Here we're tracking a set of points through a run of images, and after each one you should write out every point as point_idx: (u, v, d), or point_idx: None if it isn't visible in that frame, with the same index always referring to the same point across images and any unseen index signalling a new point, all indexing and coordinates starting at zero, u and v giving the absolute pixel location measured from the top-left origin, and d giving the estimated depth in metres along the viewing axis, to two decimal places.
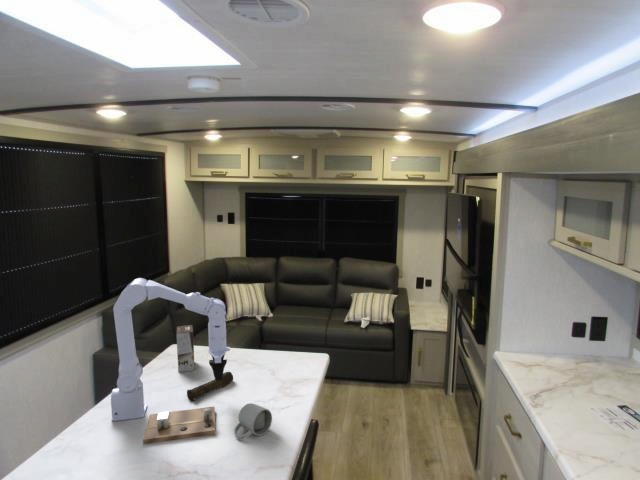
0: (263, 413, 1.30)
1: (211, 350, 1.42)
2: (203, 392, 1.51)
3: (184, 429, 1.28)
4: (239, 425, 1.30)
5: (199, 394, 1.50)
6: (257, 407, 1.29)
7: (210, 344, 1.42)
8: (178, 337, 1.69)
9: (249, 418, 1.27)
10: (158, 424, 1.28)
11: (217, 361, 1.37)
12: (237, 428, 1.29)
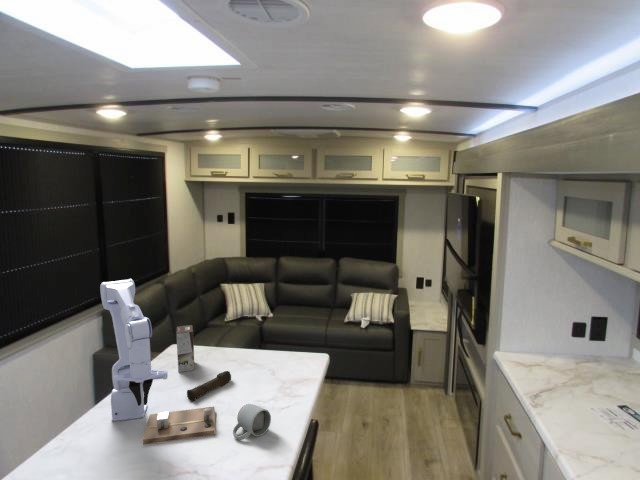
0: (262, 414, 1.30)
1: None
2: (203, 392, 1.51)
3: (184, 429, 1.28)
4: (238, 426, 1.29)
5: (199, 394, 1.50)
6: (256, 407, 1.29)
7: None
8: (178, 337, 1.69)
9: (248, 419, 1.26)
10: (158, 424, 1.28)
11: None
12: (236, 429, 1.29)
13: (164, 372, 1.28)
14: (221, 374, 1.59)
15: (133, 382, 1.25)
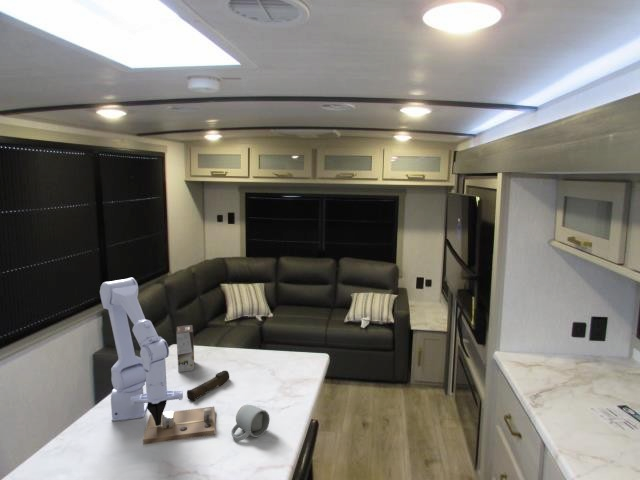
0: (260, 414, 1.29)
1: None
2: (203, 392, 1.51)
3: (184, 429, 1.28)
4: (236, 426, 1.29)
5: (199, 394, 1.50)
6: (254, 408, 1.29)
7: None
8: (178, 337, 1.69)
9: (247, 419, 1.26)
10: (163, 423, 1.28)
11: None
12: (234, 429, 1.28)
13: (179, 393, 1.30)
14: (220, 374, 1.60)
15: (149, 403, 1.27)
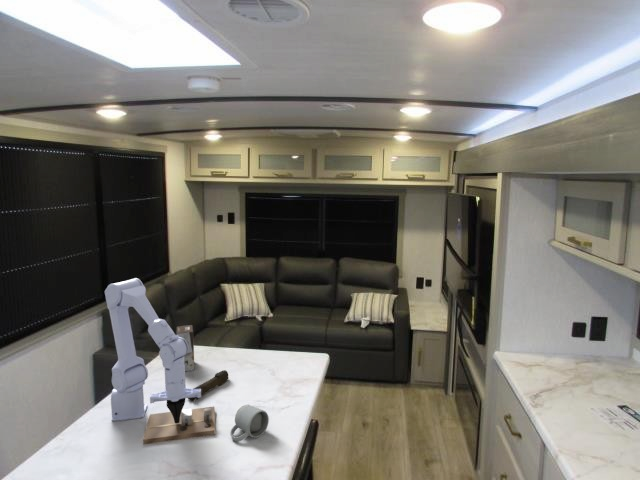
0: (260, 415, 1.29)
1: None
2: (203, 392, 1.51)
3: (184, 429, 1.28)
4: (235, 427, 1.29)
5: None
6: (253, 409, 1.29)
7: None
8: None
9: (246, 420, 1.26)
10: (182, 421, 1.29)
11: None
12: (233, 430, 1.28)
13: (198, 390, 1.31)
14: (219, 373, 1.60)
15: (168, 401, 1.29)
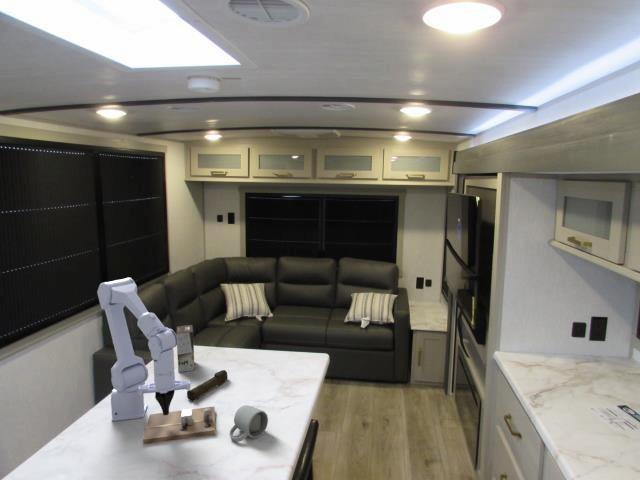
0: (259, 415, 1.29)
1: None
2: (203, 391, 1.51)
3: (184, 429, 1.28)
4: (235, 427, 1.29)
5: (199, 394, 1.50)
6: (253, 409, 1.28)
7: None
8: (178, 337, 1.69)
9: (245, 420, 1.25)
10: (182, 421, 1.29)
11: (139, 391, 1.27)
12: (233, 430, 1.28)
13: (187, 383, 1.30)
14: (218, 373, 1.60)
15: (157, 392, 1.28)
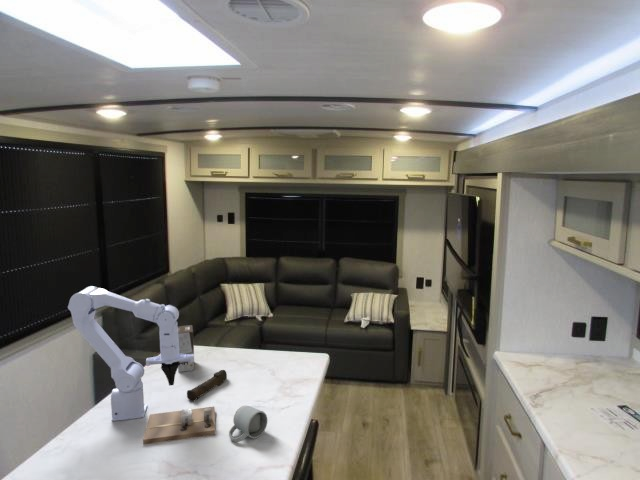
0: (258, 415, 1.29)
1: None
2: (203, 391, 1.51)
3: (184, 429, 1.28)
4: (234, 427, 1.28)
5: (199, 394, 1.50)
6: (252, 409, 1.28)
7: None
8: None
9: (244, 421, 1.25)
10: (182, 421, 1.29)
11: None
12: (232, 430, 1.28)
13: (191, 355, 1.40)
14: (218, 373, 1.60)
15: (163, 364, 1.38)
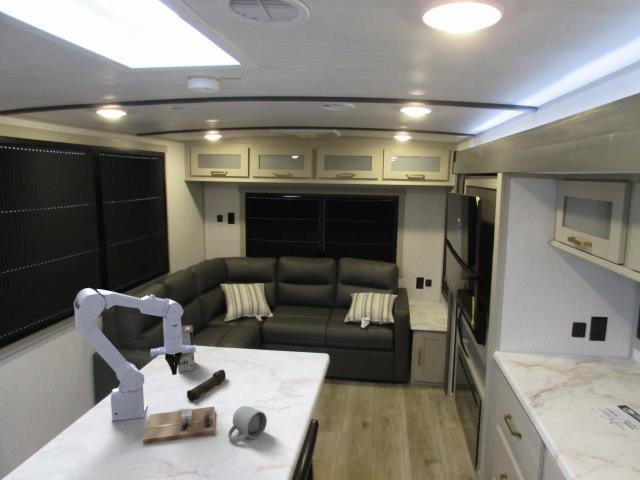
0: (258, 416, 1.28)
1: None
2: (203, 391, 1.51)
3: (184, 429, 1.28)
4: (233, 428, 1.28)
5: (200, 393, 1.50)
6: (251, 410, 1.28)
7: None
8: None
9: (244, 421, 1.25)
10: (182, 421, 1.29)
11: (151, 353, 1.45)
12: (231, 431, 1.28)
13: (193, 346, 1.48)
14: (217, 373, 1.60)
15: (167, 354, 1.46)
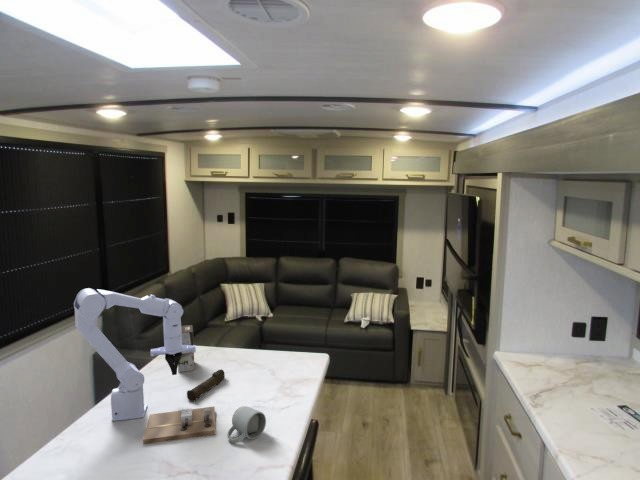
0: (257, 416, 1.28)
1: None
2: (203, 391, 1.51)
3: (184, 429, 1.28)
4: (232, 428, 1.28)
5: (200, 393, 1.50)
6: (251, 410, 1.28)
7: None
8: None
9: (243, 421, 1.25)
10: (182, 421, 1.29)
11: (151, 353, 1.45)
12: (230, 431, 1.27)
13: (193, 346, 1.48)
14: (216, 373, 1.60)
15: (167, 354, 1.46)
